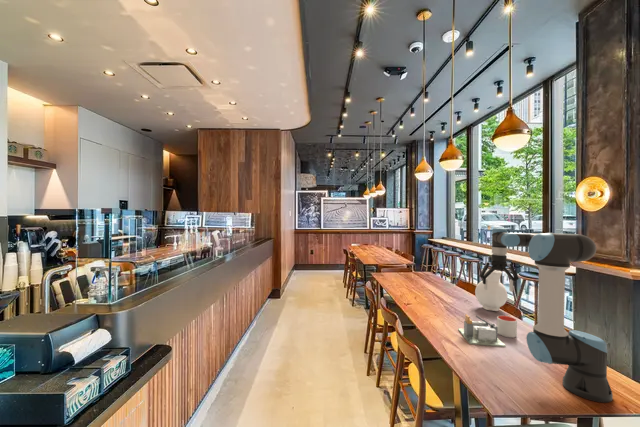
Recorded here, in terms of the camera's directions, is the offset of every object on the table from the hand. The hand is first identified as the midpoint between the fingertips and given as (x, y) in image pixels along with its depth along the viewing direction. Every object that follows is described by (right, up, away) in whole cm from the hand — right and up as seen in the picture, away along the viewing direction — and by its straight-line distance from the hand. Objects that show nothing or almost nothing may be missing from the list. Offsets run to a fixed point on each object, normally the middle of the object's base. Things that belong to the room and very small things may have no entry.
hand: (498, 290), depth 170 cm
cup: (+8, -28, +4) cm, 30 cm away
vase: (+27, -29, +52) cm, 65 cm away
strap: (-8, -19, -1) cm, 20 cm away
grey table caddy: (-11, -28, -1) cm, 30 cm away
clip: (-17, -19, 0) cm, 26 cm away
